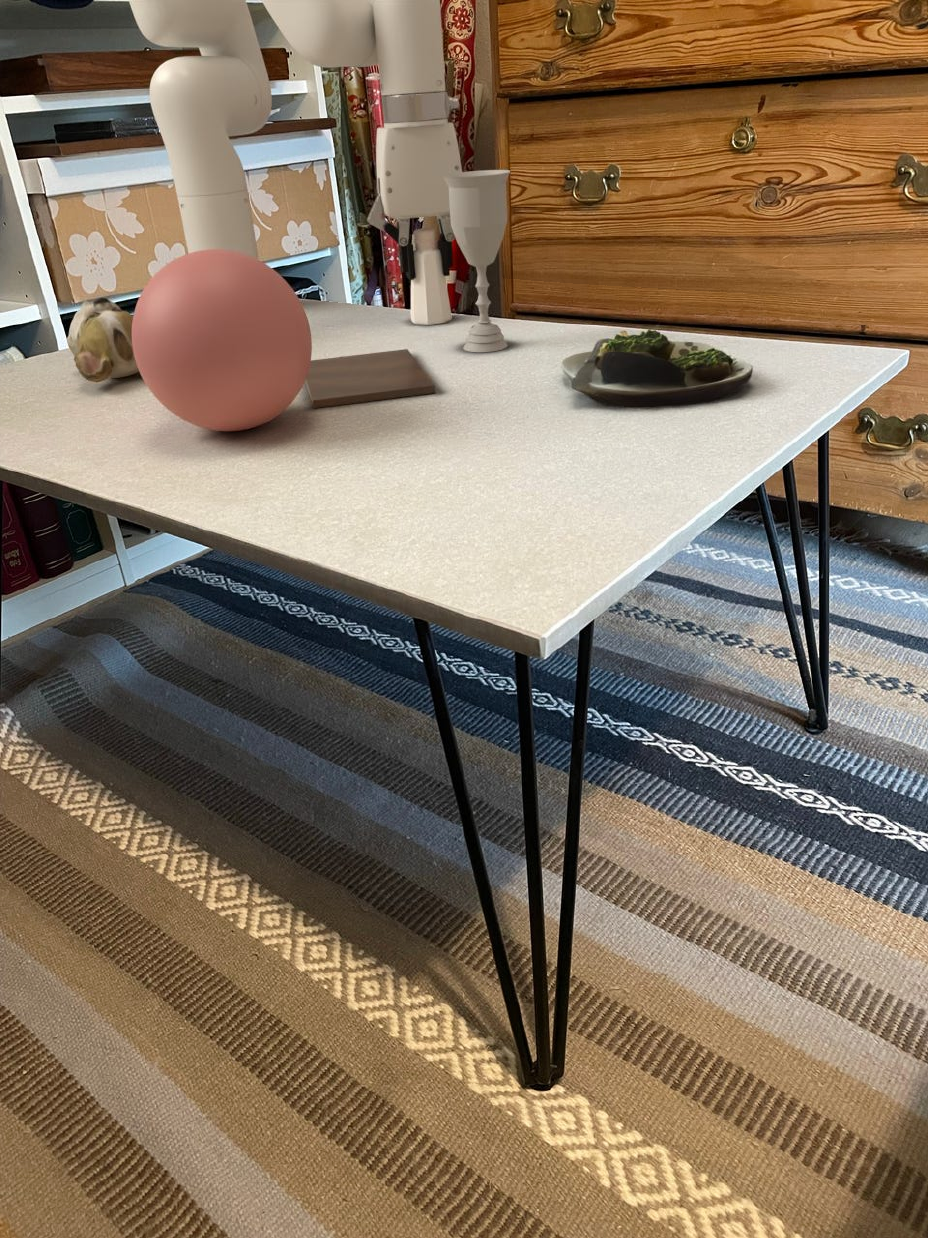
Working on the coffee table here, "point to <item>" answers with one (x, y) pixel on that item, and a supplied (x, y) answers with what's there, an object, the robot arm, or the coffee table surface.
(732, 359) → the salad plate
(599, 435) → the coffee table surface
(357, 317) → the coffee table surface
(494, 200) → the chalice
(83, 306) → the ceramic sculpture
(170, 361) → the balloon
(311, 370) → the walnut board
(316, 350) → the coffee table surface
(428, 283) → the pepper shaker
